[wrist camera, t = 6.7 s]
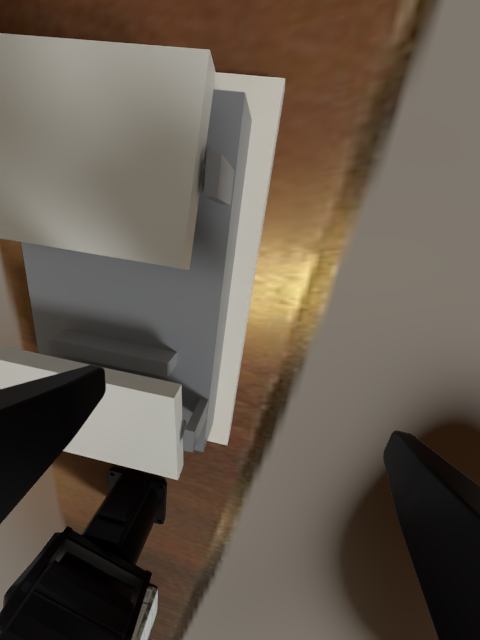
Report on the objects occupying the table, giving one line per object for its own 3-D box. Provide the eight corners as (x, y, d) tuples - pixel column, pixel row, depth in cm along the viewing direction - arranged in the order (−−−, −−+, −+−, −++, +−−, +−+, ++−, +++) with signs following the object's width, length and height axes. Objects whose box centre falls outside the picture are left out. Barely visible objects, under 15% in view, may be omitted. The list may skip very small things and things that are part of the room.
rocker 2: (186, 457, 18) (177, 480, 17) (49, 423, 19) (30, 442, 18) (185, 376, 14) (174, 398, 13) (10, 339, 15) (-18, 356, 14)
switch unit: (229, 435, 23) (209, 516, 17) (73, 399, 25) (-3, 460, 18) (284, 90, 15) (288, -34, 8) (37, 67, 16) (-138, -53, 9)
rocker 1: (193, 270, 12) (181, 268, 10) (-10, 236, 13) (-48, 230, 11) (218, 84, 11) (209, 49, 9) (-8, 63, 12) (-50, 29, 10)
